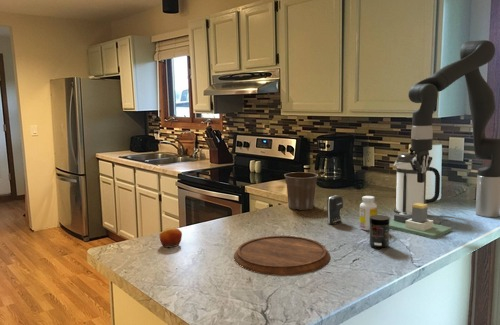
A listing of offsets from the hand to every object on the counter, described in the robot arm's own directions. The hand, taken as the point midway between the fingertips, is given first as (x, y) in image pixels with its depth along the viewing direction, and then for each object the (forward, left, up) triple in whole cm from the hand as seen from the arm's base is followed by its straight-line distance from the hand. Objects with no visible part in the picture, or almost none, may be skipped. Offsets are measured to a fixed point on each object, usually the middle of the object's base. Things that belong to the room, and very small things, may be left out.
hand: (420, 182), depth 164 cm
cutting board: (+58, -17, -20) cm, 64 cm away
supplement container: (+27, 0, -19) cm, 33 cm away
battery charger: (+15, -29, -19) cm, 38 cm away
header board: (-1, -2, -19) cm, 19 cm away
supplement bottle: (+12, -15, -19) cm, 27 cm away
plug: (0, 0, -18) cm, 18 cm away
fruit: (+80, -52, -19) cm, 97 cm away
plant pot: (+6, -58, -19) cm, 61 cm away
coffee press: (-20, -14, -19) cm, 31 cm away
